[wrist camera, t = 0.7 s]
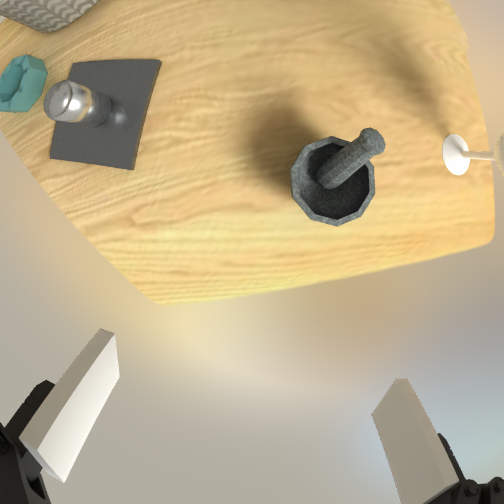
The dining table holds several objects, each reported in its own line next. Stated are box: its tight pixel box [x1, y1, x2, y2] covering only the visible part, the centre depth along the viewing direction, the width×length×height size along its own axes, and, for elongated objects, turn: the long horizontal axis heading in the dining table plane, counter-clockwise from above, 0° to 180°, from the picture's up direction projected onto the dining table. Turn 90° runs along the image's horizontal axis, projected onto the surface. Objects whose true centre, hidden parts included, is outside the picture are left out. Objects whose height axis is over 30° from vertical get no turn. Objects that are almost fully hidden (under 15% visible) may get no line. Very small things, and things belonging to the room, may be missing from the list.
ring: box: [0, 55, 48, 113], centre depth 26 cm, size 10×10×5 cm
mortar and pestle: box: [290, 128, 386, 226], centre depth 28 cm, size 11×9×12 cm
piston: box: [44, 60, 162, 170], centre depth 26 cm, size 16×16×11 cm
